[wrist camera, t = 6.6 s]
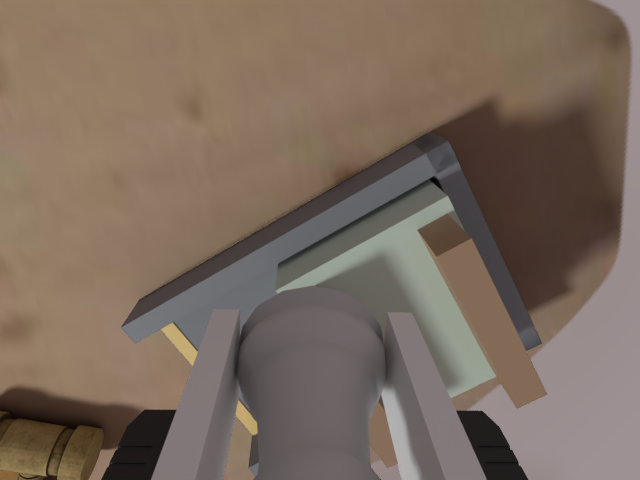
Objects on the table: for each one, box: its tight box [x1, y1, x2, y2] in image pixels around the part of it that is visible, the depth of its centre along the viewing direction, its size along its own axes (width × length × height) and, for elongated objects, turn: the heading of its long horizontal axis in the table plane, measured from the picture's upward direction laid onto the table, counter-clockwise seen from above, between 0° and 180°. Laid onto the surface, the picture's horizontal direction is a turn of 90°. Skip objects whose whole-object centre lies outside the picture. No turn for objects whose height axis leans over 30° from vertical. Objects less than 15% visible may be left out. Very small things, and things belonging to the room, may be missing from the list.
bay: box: [121, 132, 542, 476], centre depth 35 cm, size 18×26×4 cm
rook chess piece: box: [236, 286, 388, 480], centre depth 10 cm, size 4×4×8 cm
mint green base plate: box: [275, 179, 547, 468], centre depth 30 cm, size 14×12×10 cm
